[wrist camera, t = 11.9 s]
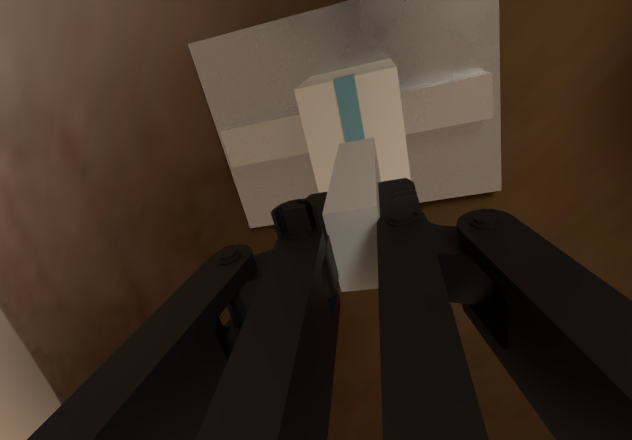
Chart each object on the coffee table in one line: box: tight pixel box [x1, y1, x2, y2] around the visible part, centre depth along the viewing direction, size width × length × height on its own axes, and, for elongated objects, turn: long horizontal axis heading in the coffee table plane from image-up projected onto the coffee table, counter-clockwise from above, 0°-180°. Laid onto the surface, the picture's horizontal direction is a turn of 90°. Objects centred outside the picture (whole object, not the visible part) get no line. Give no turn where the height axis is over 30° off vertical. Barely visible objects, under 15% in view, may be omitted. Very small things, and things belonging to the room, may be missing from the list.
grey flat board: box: [188, 0, 501, 228], centre depth 29 cm, size 16×22×3 cm
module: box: [294, 58, 411, 193], centre depth 26 cm, size 8×6×7 cm
